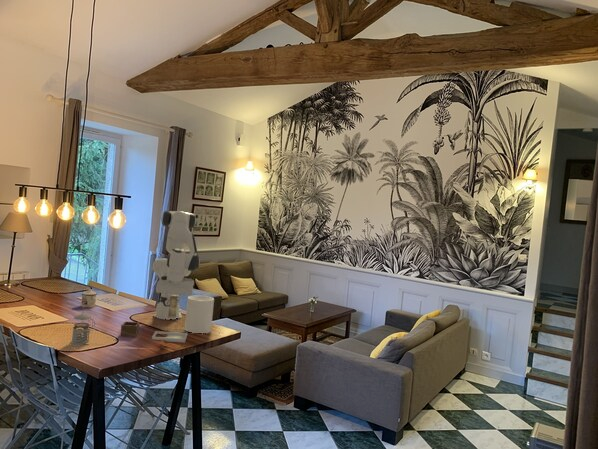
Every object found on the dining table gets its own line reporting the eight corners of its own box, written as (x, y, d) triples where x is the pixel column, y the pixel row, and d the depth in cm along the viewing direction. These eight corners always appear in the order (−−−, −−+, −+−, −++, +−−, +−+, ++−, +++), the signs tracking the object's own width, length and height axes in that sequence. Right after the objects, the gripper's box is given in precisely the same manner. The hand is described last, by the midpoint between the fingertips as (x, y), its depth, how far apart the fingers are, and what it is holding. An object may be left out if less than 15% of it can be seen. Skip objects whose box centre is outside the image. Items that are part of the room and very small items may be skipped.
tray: (155, 334, 253) (155, 331, 253) (187, 336, 255) (187, 332, 255) (151, 340, 241) (151, 337, 241) (185, 342, 244) (185, 339, 244)
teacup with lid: (78, 305, 298) (79, 288, 298) (90, 304, 306) (92, 287, 306) (87, 309, 292) (89, 292, 292) (100, 307, 299) (102, 290, 299)
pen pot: (123, 333, 248) (124, 321, 248) (138, 334, 249) (139, 322, 249) (120, 337, 240) (121, 325, 240) (135, 338, 241) (136, 326, 241)
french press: (65, 342, 224) (69, 294, 223) (87, 338, 234) (91, 292, 233) (76, 347, 218) (80, 297, 218) (97, 343, 228) (102, 295, 227)
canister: (190, 325, 279) (193, 294, 278) (214, 328, 277) (217, 297, 277) (180, 331, 263) (183, 298, 262) (206, 335, 261) (209, 302, 261)
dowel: (168, 315, 249) (170, 295, 249) (176, 316, 250) (178, 295, 250) (167, 317, 245) (169, 296, 245) (175, 318, 246) (177, 296, 246)
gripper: (195, 277, 252) (192, 301, 252) (158, 275, 249) (156, 299, 249) (194, 279, 246) (191, 304, 246) (156, 276, 243) (154, 301, 243)
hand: (173, 301), depth 248 cm, fingers closed on dowel, 4 cm apart
